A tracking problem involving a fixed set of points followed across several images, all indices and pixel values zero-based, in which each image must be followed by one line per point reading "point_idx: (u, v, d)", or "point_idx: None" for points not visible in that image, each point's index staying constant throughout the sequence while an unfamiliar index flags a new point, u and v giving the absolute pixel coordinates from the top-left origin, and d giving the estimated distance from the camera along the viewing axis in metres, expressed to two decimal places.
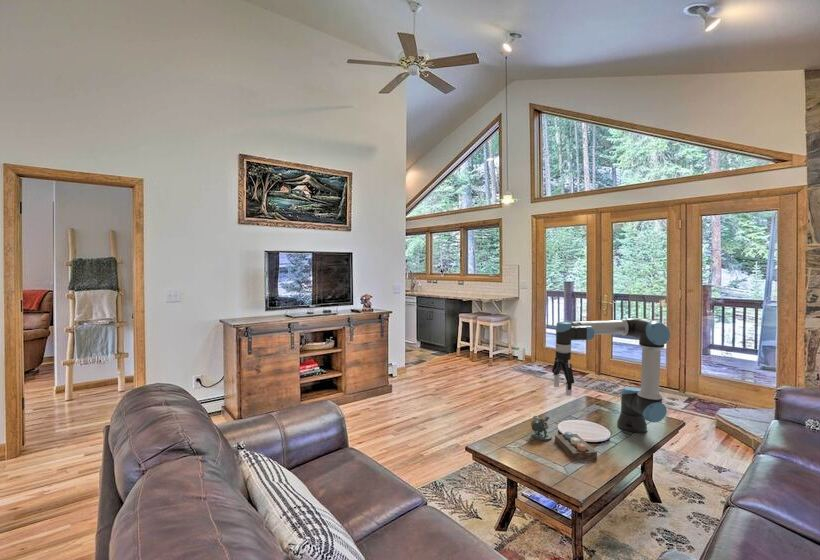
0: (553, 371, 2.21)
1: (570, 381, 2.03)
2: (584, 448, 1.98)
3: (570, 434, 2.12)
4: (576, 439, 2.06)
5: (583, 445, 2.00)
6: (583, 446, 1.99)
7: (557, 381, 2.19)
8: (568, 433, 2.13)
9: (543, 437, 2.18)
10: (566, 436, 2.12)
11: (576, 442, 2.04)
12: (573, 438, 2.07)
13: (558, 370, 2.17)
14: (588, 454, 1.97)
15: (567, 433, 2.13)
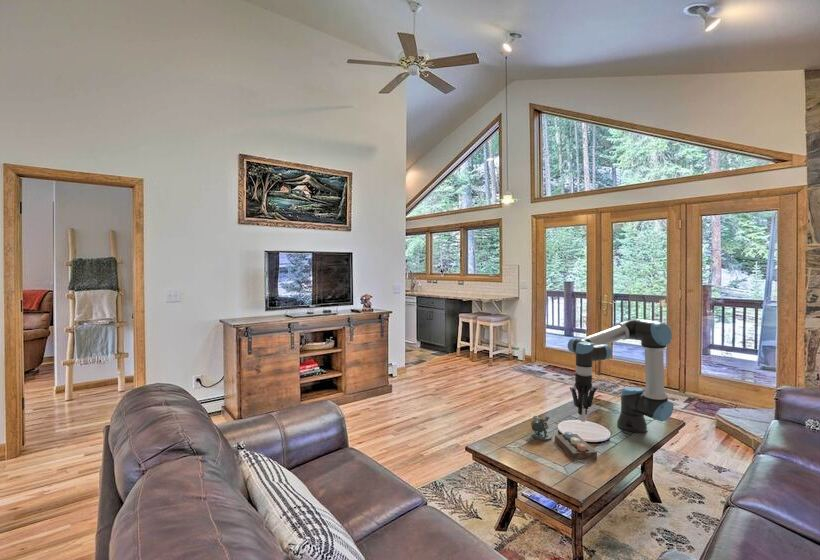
0: None
1: None
2: (584, 448, 1.98)
3: (570, 434, 2.12)
4: (576, 439, 2.06)
5: (583, 445, 2.00)
6: (583, 446, 1.99)
7: None
8: (568, 433, 2.13)
9: (543, 437, 2.18)
10: (566, 436, 2.12)
11: (576, 442, 2.04)
12: (573, 438, 2.07)
13: (584, 399, 1.98)
14: (588, 454, 1.97)
15: (567, 433, 2.13)
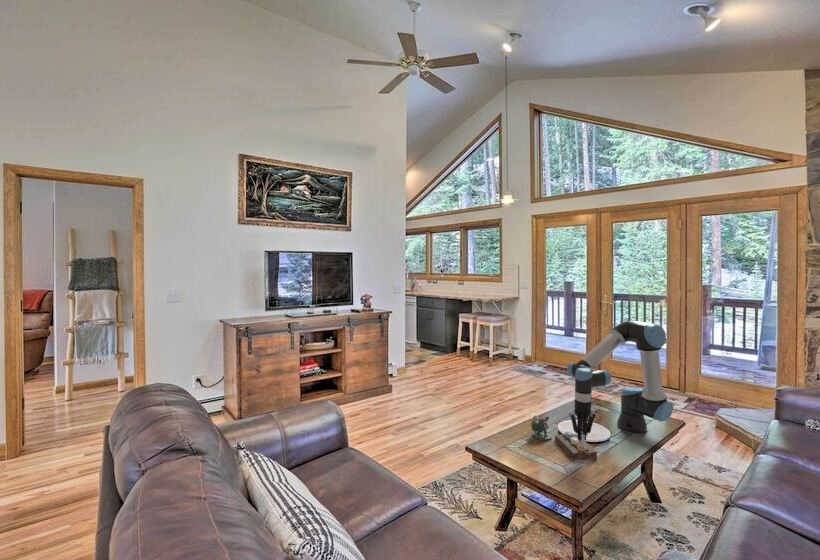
0: None
1: None
2: (584, 449, 1.98)
3: (570, 434, 2.12)
4: (576, 439, 2.06)
5: None
6: None
7: None
8: (568, 433, 2.13)
9: (543, 437, 2.18)
10: (566, 436, 2.12)
11: (576, 442, 2.04)
12: (573, 438, 2.07)
13: (583, 425, 1.99)
14: (588, 454, 1.97)
15: (567, 433, 2.13)
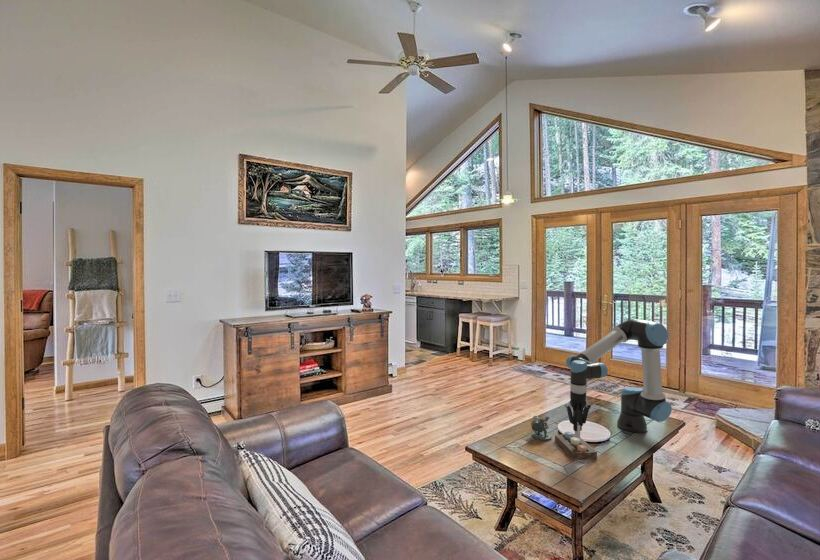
0: None
1: None
2: (584, 449, 1.98)
3: (570, 434, 2.12)
4: (576, 439, 2.06)
5: (583, 447, 2.00)
6: (582, 447, 1.99)
7: None
8: (568, 433, 2.13)
9: (543, 437, 2.18)
10: (566, 436, 2.12)
11: (576, 442, 2.04)
12: (573, 438, 2.07)
13: (579, 416, 2.04)
14: (588, 454, 1.97)
15: (567, 433, 2.13)
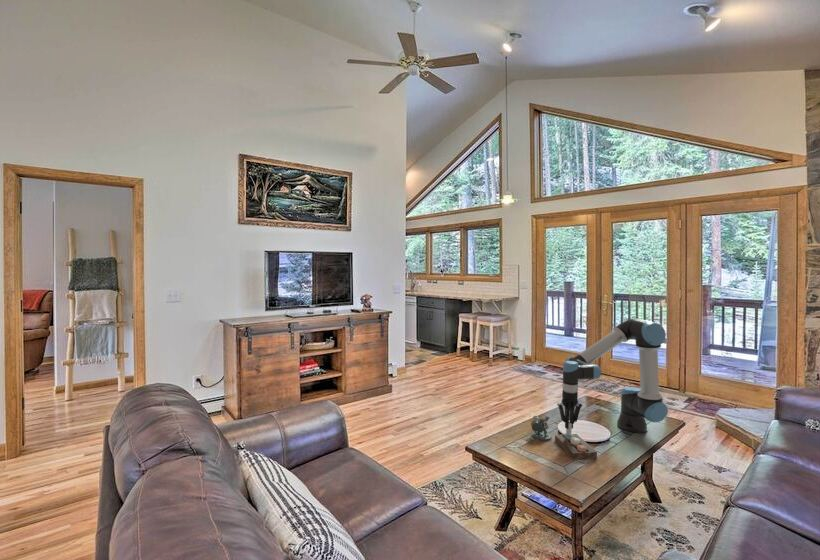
0: None
1: None
2: (584, 449, 1.98)
3: None
4: (576, 439, 2.06)
5: (583, 447, 2.00)
6: (582, 447, 1.99)
7: None
8: None
9: (543, 437, 2.18)
10: (566, 437, 2.12)
11: (576, 442, 2.04)
12: (573, 438, 2.07)
13: (570, 414, 2.12)
14: (588, 454, 1.97)
15: None
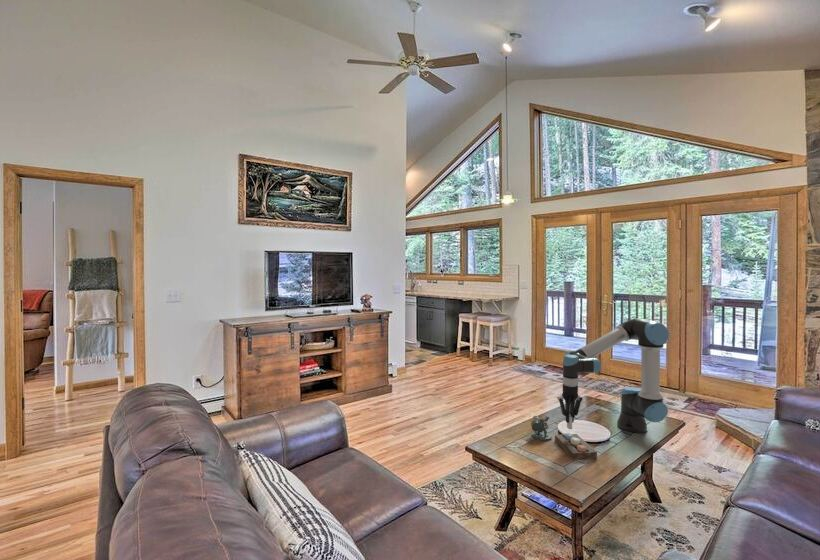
0: None
1: None
2: (584, 449, 1.98)
3: (570, 435, 2.12)
4: (576, 439, 2.06)
5: (583, 447, 2.00)
6: (582, 447, 1.99)
7: None
8: (568, 434, 2.13)
9: (543, 437, 2.18)
10: (566, 437, 2.12)
11: (576, 442, 2.04)
12: (573, 438, 2.07)
13: (571, 408, 2.12)
14: (588, 454, 1.97)
15: (567, 434, 2.13)
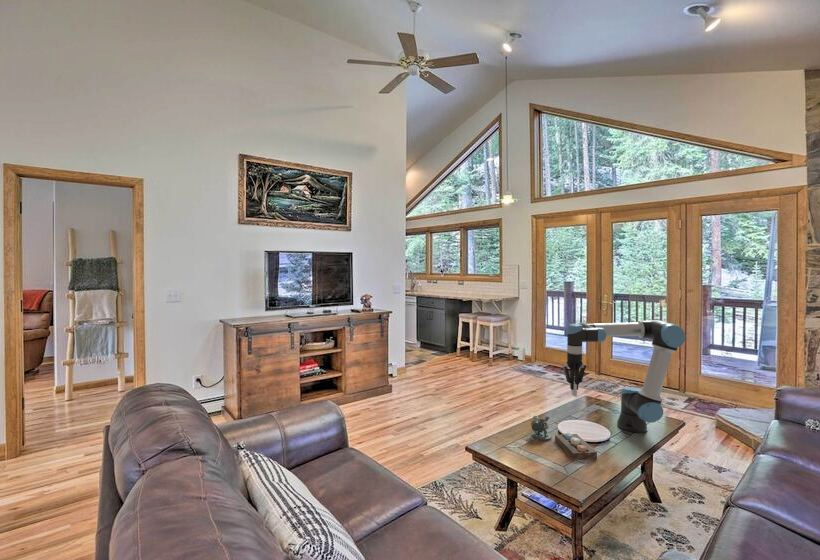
0: None
1: None
2: (584, 449, 1.98)
3: (570, 435, 2.12)
4: (576, 439, 2.06)
5: (583, 447, 2.00)
6: (582, 447, 1.99)
7: None
8: (568, 434, 2.13)
9: (543, 437, 2.18)
10: (566, 437, 2.12)
11: (576, 442, 2.04)
12: (573, 438, 2.07)
13: (575, 375, 2.18)
14: (588, 454, 1.97)
15: (567, 434, 2.13)
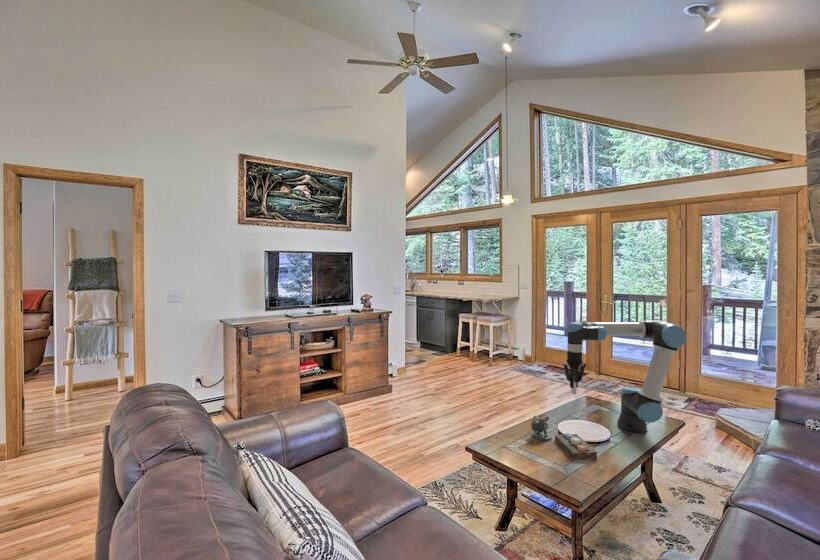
0: None
1: None
2: (584, 449, 1.98)
3: (570, 435, 2.12)
4: (576, 439, 2.06)
5: (583, 447, 2.00)
6: (582, 447, 1.99)
7: None
8: (568, 434, 2.13)
9: (543, 437, 2.18)
10: (566, 437, 2.12)
11: (576, 442, 2.04)
12: (573, 438, 2.07)
13: (575, 374, 2.19)
14: (588, 454, 1.97)
15: (567, 434, 2.13)
